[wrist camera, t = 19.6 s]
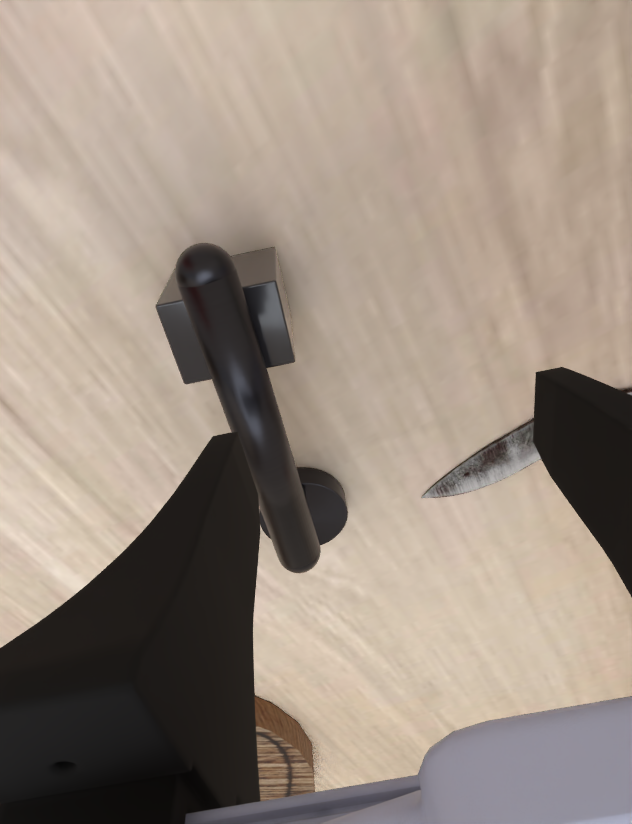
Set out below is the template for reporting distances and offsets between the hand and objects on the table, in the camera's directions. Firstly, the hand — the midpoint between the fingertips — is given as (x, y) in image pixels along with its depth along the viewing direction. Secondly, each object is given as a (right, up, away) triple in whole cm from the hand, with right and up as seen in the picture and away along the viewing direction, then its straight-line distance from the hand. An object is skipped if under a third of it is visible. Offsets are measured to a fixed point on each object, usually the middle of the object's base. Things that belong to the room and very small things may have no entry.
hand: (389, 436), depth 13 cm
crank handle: (-4, +1, +11) cm, 12 cm away
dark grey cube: (-5, +5, +8) cm, 11 cm away
